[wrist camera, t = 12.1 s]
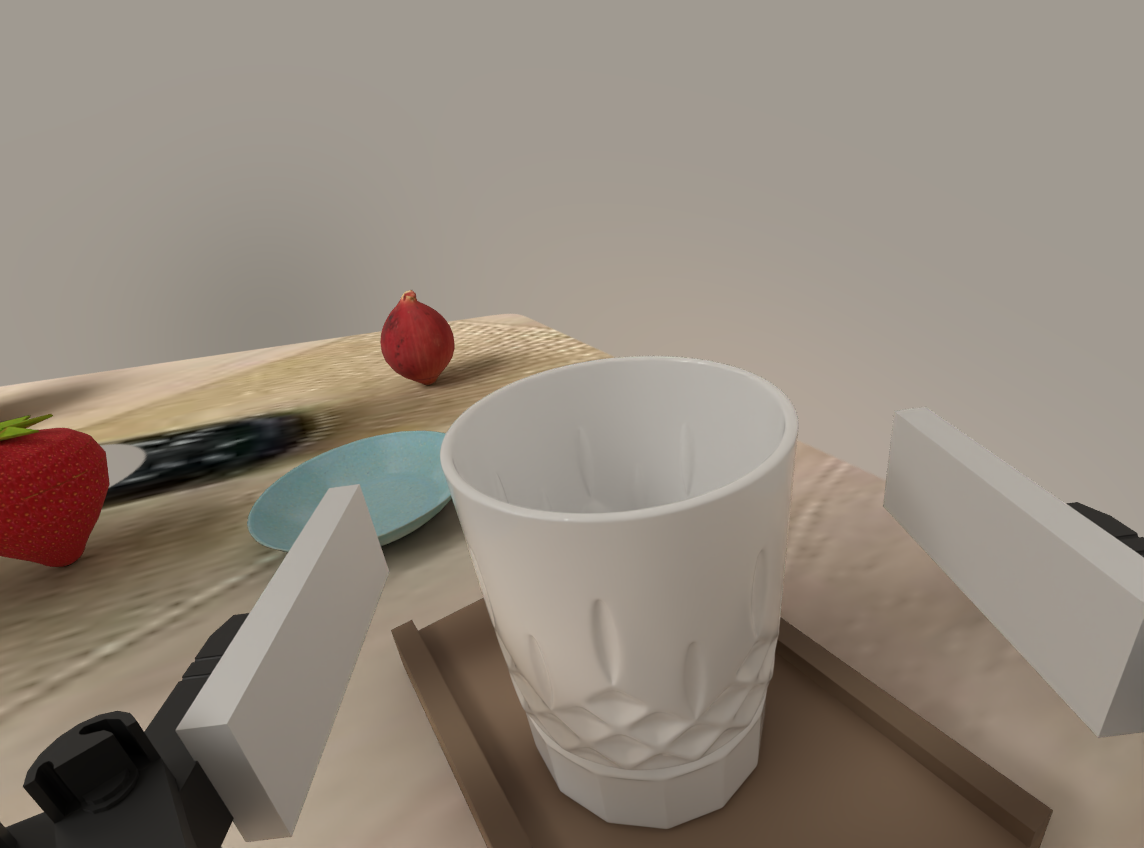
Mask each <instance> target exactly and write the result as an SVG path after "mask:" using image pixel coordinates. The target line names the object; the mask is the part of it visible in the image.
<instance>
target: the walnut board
mask: <svg viewBox="0 0 1144 848" xmlns="http://www.w3.org/2000/svg"><path fill="white" fill-rule="evenodd" d="M391 632H392V634H393V637H394V640H395V643H396V646H397V648H398V651H399V654H400V657H401V660H402V662H403V665H404V667H405V670H406V672H407V674H408V676H409V678H410V680H411V683H412V685H413V687H414V689H415V691H416V693H417V696H418V698H419V700H420V702H421V704H422V706H423V709H424V711H425V713H426V715H427V717H428V719H429V722H430V724H431V726H432V728H433V730H434V732H435V735H436V737H437V739H438V741H439V743H440V745H441V748H442V750H443V752H444V754H445V756H446V758H447V761H448V763H449V765H450V767H451V769H452V771H453V774H454V776H455V778H456V780H457V782H458V784H459V787H460V789H461V791H462V793H463V795H464V797H465V800H466V802H467V804H468V806H469V808H470V810H471V813H472V815H473V817H474V819H475V821H476V824H477V826H478V828H479V830H480V832H481V834H482V837H483V839H484V841H485V843H486V845H487V847H488V848H1039V847H1040V845H1041V842H1042V839H1043V836H1044V834H1045V831H1046V828H1047V825H1048V823H1049V820H1050V817H1051V814H1052V811H1053V810H1052V809H1050V808H1049V807H1047V806H1046V805H1045V804H1043V803H1042V802H1040V801H1039V800H1038V799H1036V798H1035V797H1033V796H1032V795H1030V794H1029V793H1028V792H1026V791H1025V790H1023V789H1022V788H1021V787H1019V786H1018V785H1016V784H1015V783H1014V782H1012V781H1011V780H1009V779H1008V778H1006V777H1005V776H1004V775H1002V774H1001V773H999V772H998V771H997V770H995V769H994V768H992V767H991V766H990V765H988V764H987V763H985V762H984V761H982V760H981V759H980V758H978V757H977V756H975V755H974V754H973V753H971V752H970V751H968V750H967V749H966V748H964V747H963V746H961V745H960V744H958V743H957V742H956V741H954V740H953V739H951V738H950V737H949V736H947V735H946V734H944V733H943V732H942V731H940V730H939V729H937V728H936V727H934V726H933V725H932V724H930V723H929V722H927V721H926V720H925V719H923V718H922V717H920V716H919V715H918V714H916V713H915V712H913V711H912V710H910V709H909V708H908V707H906V706H905V705H903V704H902V703H901V702H899V701H898V700H896V699H895V698H894V697H892V696H891V695H889V694H888V693H886V692H885V691H884V690H882V689H881V688H879V687H878V686H877V685H875V684H874V683H872V682H871V681H870V680H868V679H867V678H865V677H864V676H862V675H861V674H860V673H858V672H857V671H855V670H854V669H853V668H851V667H850V666H848V665H847V664H846V663H844V662H843V661H841V660H840V659H838V658H837V657H836V656H834V655H833V654H831V653H830V652H829V651H827V650H826V649H824V648H823V647H822V646H820V645H819V644H817V643H816V642H814V641H813V640H812V639H810V638H809V637H807V636H806V635H805V634H803V633H802V632H800V631H799V630H798V629H796V628H795V627H793V626H792V625H790V624H789V623H788V622H786V621H785V620H783V619H782V618H781V617H780V625H779V635H778V640H777V645H776V649H775V660H774V671H773V677H772V679H771V681H770V683H769V685H768V688H767V693H766V705H765V716H764V723H763V730H762V737H761V744H760V750H759V757H758V764H757V766H756V768H755V769H754V770H753V771H752V773H751V774H750V775H749V776H748V778H747V779H746V780H745V781H744V782H743V784H742V785H741V786H740V787H739V789H738V790H737V791H736V792H735V793H734V795H733V796H732V797H731V798H730V799H729V801H728V802H727V803H726V804H725V806H724V807H723V808H721V809H718V810H716V811H713V812H711V813H708V814H706V815H703V816H700V817H698V818H695V819H693V820H690V821H688V822H685V823H683V824H680V825H677V826H675V827H672V828H670V829H661V828H652V827H642V826H633V825H624V824H615V823H608V822H606V821H605V820H603V819H601V818H600V817H598V816H597V815H595V814H594V813H592V812H591V811H589V810H588V809H586V808H585V807H583V806H582V805H580V804H579V803H577V802H576V801H574V800H573V799H571V798H570V797H568V796H566V795H565V794H563V793H562V792H561V791H560V790H559V788H558V786H557V784H556V782H555V780H554V779H553V777H552V775H551V773H550V771H549V769H548V767H547V766H546V764H545V762H544V760H543V758H542V756H541V755H540V753H539V751H538V749H537V747H536V744H535V741H534V738H533V735H532V731H531V728H530V725H529V721H528V718H527V715H526V711H525V710H524V709H523V707H522V705H521V703H520V701H519V698H518V696H517V693H516V691H515V688H514V685H513V682H512V680H511V677H510V674H509V671H508V668H507V663H506V661H505V658H504V655H503V653H502V650H501V647H500V645H499V642H498V639H497V636H496V633H495V630H494V627H493V625H492V623H491V620H490V617H489V614H488V611H487V607H486V604H485V601H484V598H482V599H480V600H478V601H476V602H474V603H472V604H470V605H468V606H466V607H464V608H462V609H460V610H458V611H456V612H454V613H452V614H450V615H448V616H446V617H444V618H442V619H440V620H438V621H437V622H435V623H433V624H431V625H429V626H427V627H425V628H423V629H421V630H419V631H418V630H417V628H416V627H415V625H414V623H413V621H412V620H411V621H409V622H407V623H405V624H403V625H401V626H399V627H396V628H394V629H392V630H391Z"/></svg>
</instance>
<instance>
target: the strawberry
mask: <svg viewBox="0 0 1144 848" xmlns="http://www.w3.org/2000/svg"><path fill="white" fill-rule="evenodd" d="M52 416H53V415H52V414H48V415H44V416H40V417H36V418H32V419H28V418H30V415H28V416H24V417H20V418H16V419H12V420H8V421H4V422H1V423H0V556H2V557H8V558H14V559H20V560H26V561H31V562H36V563H40V564H43V565H46V566H50V567H62V566H66V565H69V564H71V563H73V562H75V561H76V560H77V559H79V558H80V556H81V555H82V554H83V552H84V549H85V546H86V542H87V540H88V538H89V535H90V533H91V531H92V530H93V528H94V526H95V524H96V522H97V520H98V518H99V515H100V512H101V509H102V506H103V503H104V500H105V497H106V494H107V491H108V487H109V476H108V468H107V459H106V452H105V451H104V450H103V449H102V447H101V446H100V445H99V444H98V443H97V442H96V441H95V440H94V439H93V438H92V437H91V436H90V435H88V434H85V433H82V432H79V431H75V430H72V429H69V428H52V429H43V430H32V429H25V428H27V427H30V426H32V425H34V424H36V423H39V422H41V421H43V420H45V419H48V418H50V417H52ZM27 419H28V420H27Z"/></svg>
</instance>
